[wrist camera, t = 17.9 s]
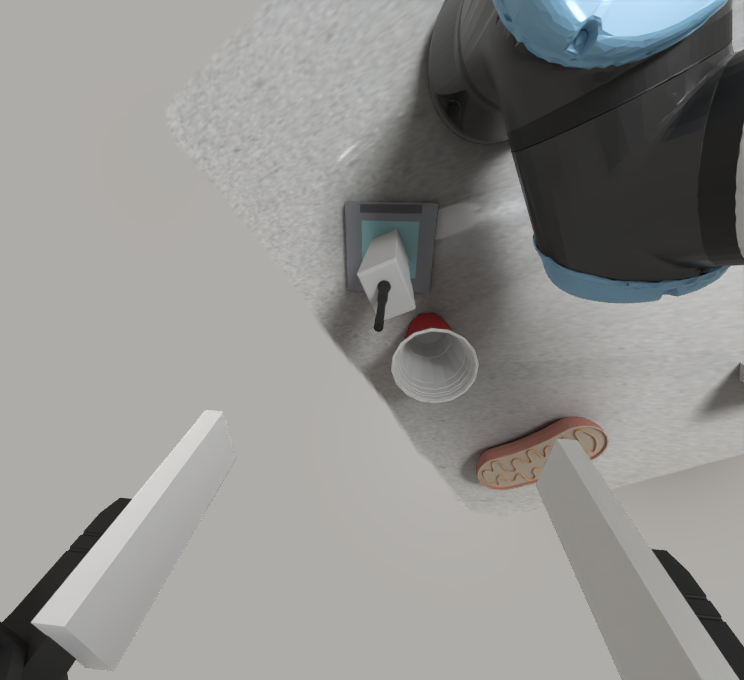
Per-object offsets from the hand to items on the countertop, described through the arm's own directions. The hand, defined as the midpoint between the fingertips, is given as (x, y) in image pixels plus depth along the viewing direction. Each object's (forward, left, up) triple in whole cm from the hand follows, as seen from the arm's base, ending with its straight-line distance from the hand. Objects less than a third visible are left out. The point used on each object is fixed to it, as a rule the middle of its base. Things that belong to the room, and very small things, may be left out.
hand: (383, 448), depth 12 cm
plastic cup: (+11, +6, -35) cm, 37 cm away
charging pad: (-1, -1, -35) cm, 35 cm away
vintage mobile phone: (-1, 0, -34) cm, 34 cm away
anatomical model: (+35, +27, -35) cm, 57 cm away
